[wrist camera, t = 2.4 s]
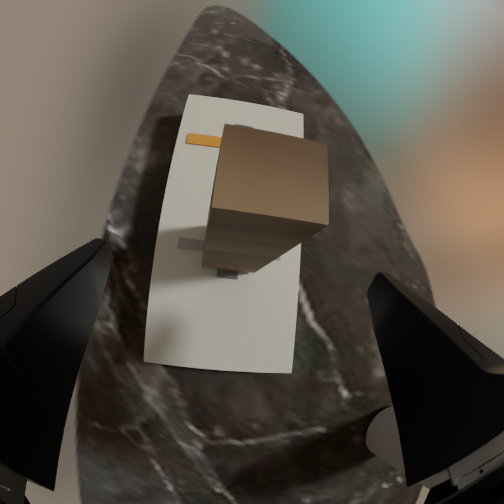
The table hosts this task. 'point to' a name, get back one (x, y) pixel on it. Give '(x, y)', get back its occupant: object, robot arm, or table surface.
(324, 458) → the table surface
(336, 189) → the table surface
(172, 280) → the fader console
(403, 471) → the beverage can
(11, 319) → the robot arm
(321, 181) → the lever
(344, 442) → the table surface
